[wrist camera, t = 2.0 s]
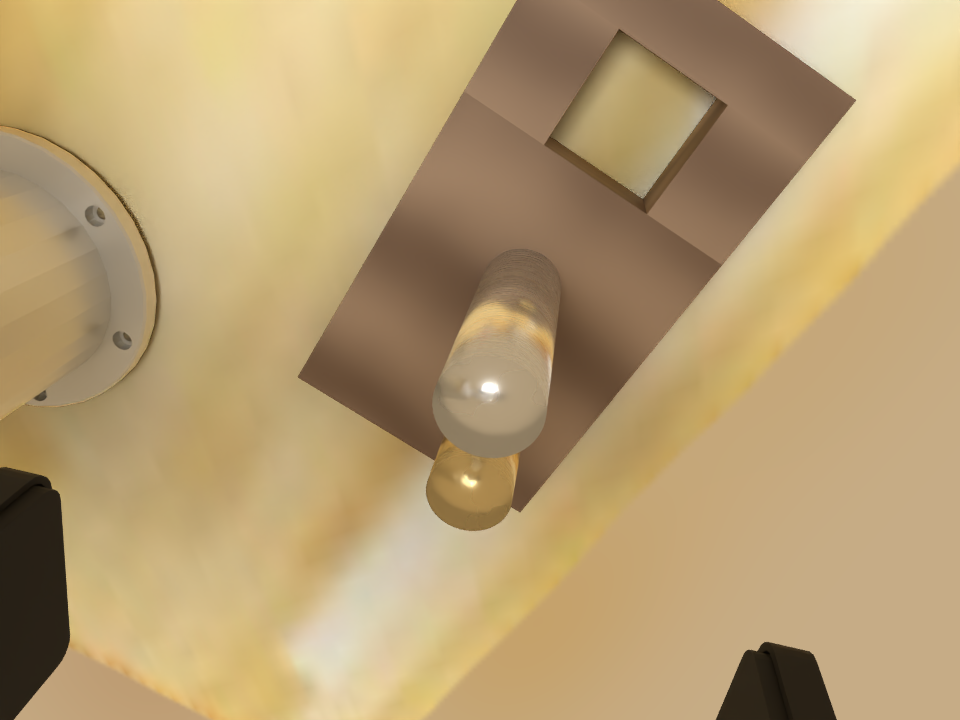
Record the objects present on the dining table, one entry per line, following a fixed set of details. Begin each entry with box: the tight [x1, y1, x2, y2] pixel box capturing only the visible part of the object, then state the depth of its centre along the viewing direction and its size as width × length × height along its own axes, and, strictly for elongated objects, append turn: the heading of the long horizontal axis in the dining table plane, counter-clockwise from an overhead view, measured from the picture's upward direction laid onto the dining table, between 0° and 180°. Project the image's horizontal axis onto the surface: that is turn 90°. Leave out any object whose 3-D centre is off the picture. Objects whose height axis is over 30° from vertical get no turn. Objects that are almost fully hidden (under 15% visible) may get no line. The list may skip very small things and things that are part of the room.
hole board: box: [298, 0, 856, 512], centre depth 30 cm, size 20×11×2 cm, turn 148°
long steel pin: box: [432, 249, 561, 458], centre depth 25 cm, size 3×3×10 cm
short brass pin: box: [426, 436, 520, 531], centre depth 29 cm, size 3×3×6 cm
